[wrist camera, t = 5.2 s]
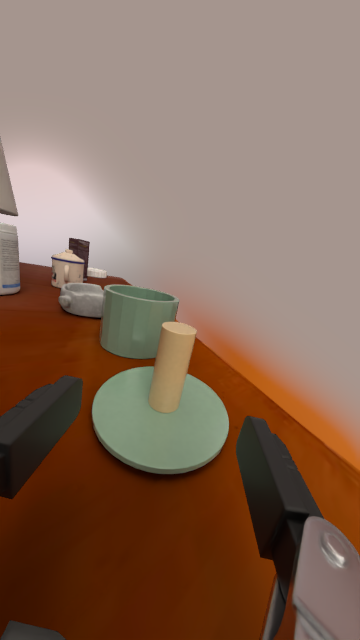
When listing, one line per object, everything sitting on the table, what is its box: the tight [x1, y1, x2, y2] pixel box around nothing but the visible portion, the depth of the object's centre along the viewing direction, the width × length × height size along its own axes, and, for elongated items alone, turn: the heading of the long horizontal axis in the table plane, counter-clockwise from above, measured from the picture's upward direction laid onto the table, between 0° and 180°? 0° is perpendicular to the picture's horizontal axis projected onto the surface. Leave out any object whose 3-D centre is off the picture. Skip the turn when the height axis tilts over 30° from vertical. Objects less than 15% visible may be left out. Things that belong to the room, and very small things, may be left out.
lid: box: [92, 322, 229, 474], centre depth 17 cm, size 12×12×9 cm
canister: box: [99, 285, 179, 359], centre depth 31 cm, size 11×11×8 cm
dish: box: [59, 283, 104, 318], centre depth 43 cm, size 14×14×5 cm
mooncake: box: [87, 268, 107, 278], centre depth 100 cm, size 12×12×4 cm
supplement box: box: [69, 238, 90, 280], centre depth 80 cm, size 9×5×16 cm, turn 51°
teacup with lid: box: [51, 249, 85, 288], centre depth 59 cm, size 12×9×12 cm
